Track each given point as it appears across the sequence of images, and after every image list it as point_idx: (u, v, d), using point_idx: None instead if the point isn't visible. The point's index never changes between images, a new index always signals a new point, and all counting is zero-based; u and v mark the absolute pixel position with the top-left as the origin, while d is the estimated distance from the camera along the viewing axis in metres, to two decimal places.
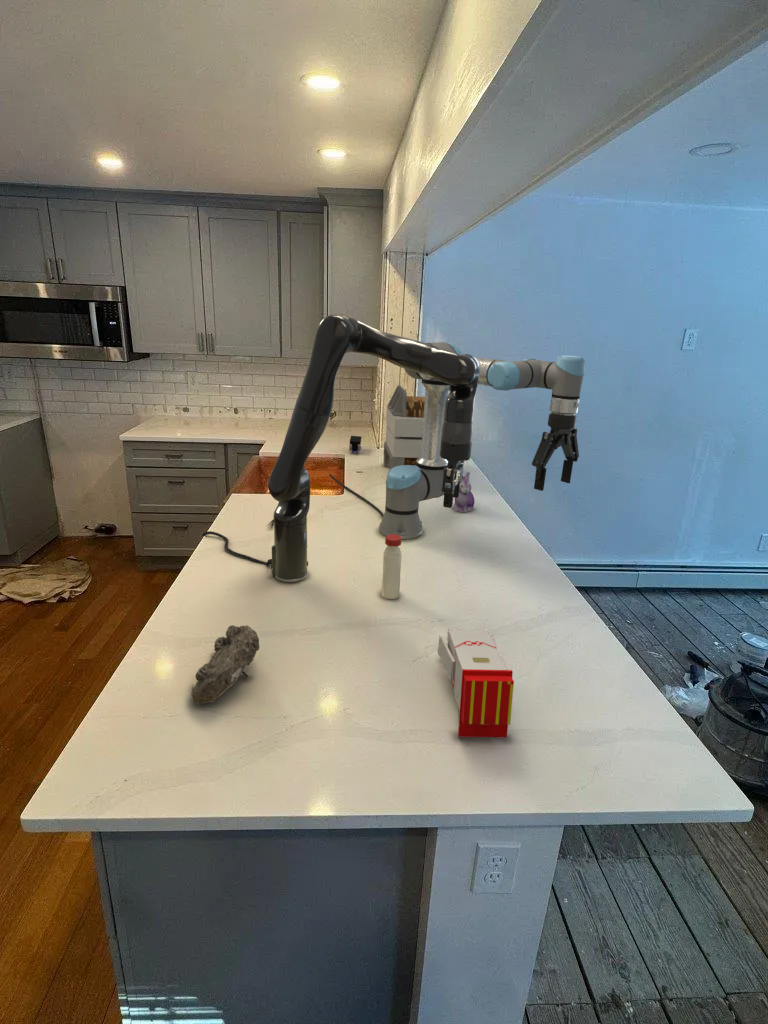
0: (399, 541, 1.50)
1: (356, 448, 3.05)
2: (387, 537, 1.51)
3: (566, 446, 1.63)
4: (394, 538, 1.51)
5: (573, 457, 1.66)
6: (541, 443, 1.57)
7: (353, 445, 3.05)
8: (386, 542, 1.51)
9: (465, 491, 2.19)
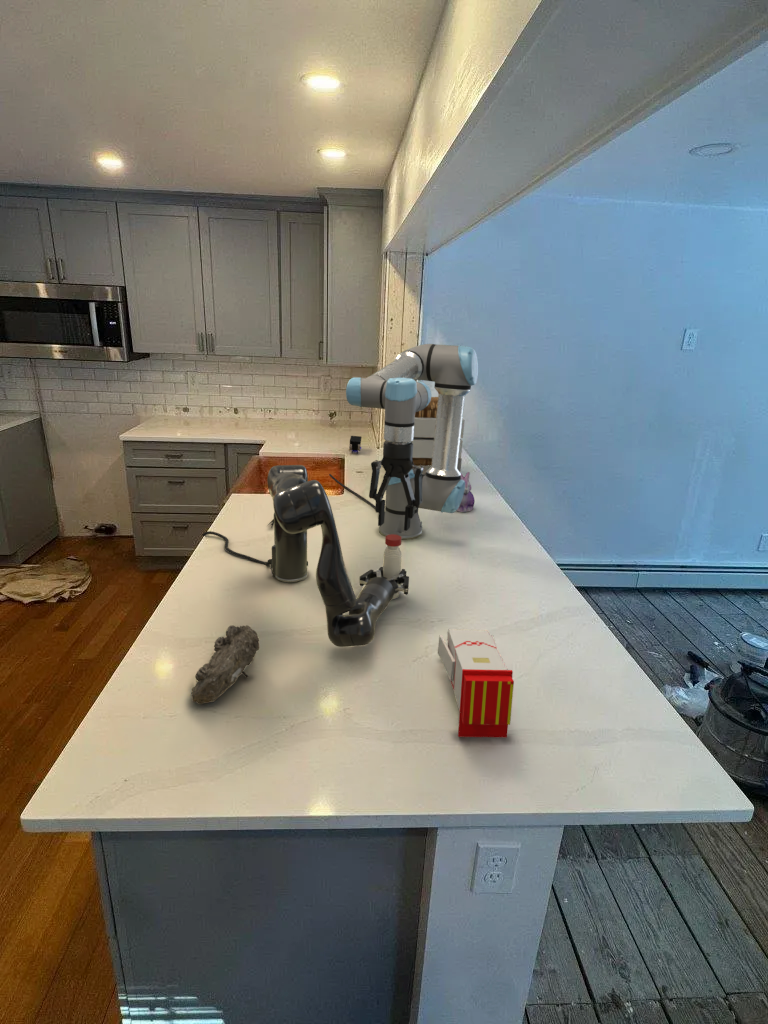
0: (399, 541, 1.50)
1: (356, 448, 3.05)
2: (387, 537, 1.51)
3: (390, 478, 1.47)
4: (394, 538, 1.51)
5: None
6: (419, 481, 1.43)
7: (353, 445, 3.05)
8: (386, 542, 1.51)
9: (465, 491, 2.19)
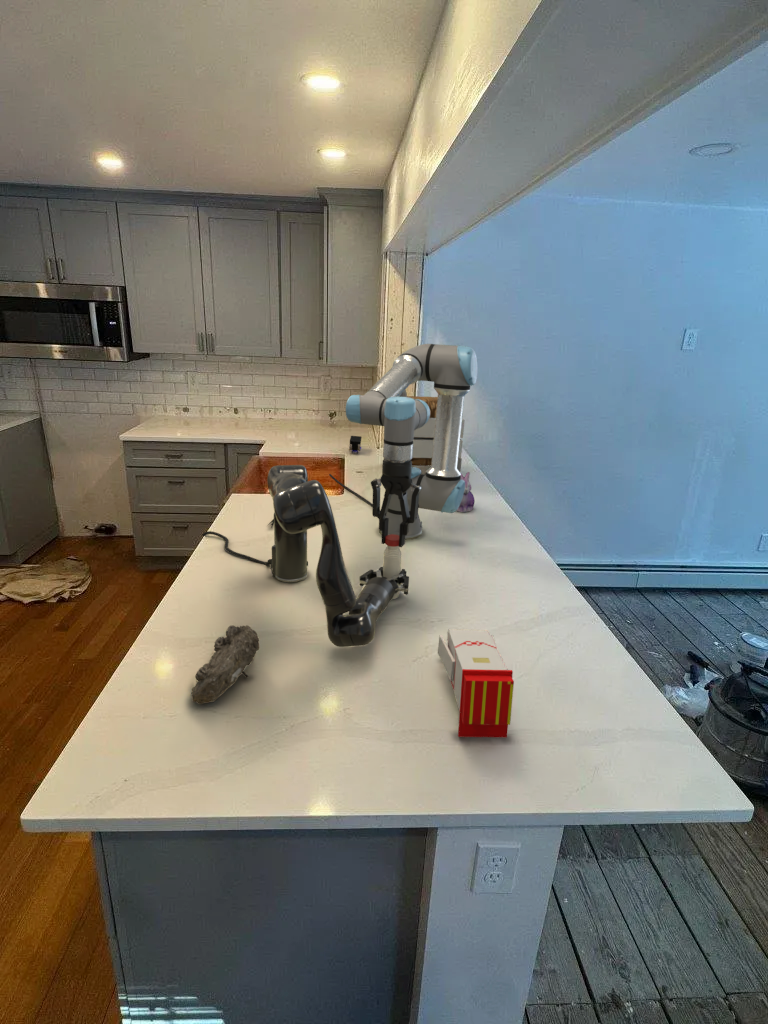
0: None
1: (356, 448, 3.05)
2: (387, 537, 1.51)
3: (390, 496, 1.49)
4: (394, 538, 1.51)
5: None
6: (416, 499, 1.45)
7: (353, 445, 3.05)
8: (386, 542, 1.51)
9: (465, 491, 2.19)
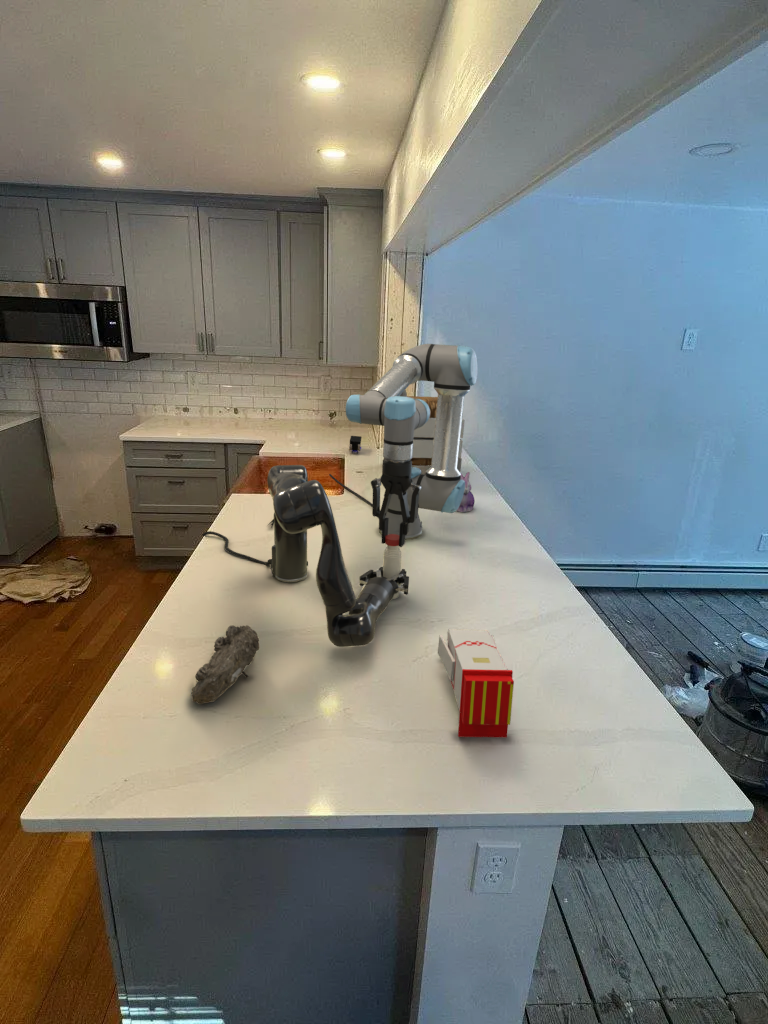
0: None
1: (356, 448, 3.05)
2: (395, 539, 1.50)
3: (390, 496, 1.49)
4: (395, 536, 1.52)
5: None
6: (416, 499, 1.45)
7: (353, 445, 3.05)
8: (398, 543, 1.50)
9: (465, 491, 2.19)
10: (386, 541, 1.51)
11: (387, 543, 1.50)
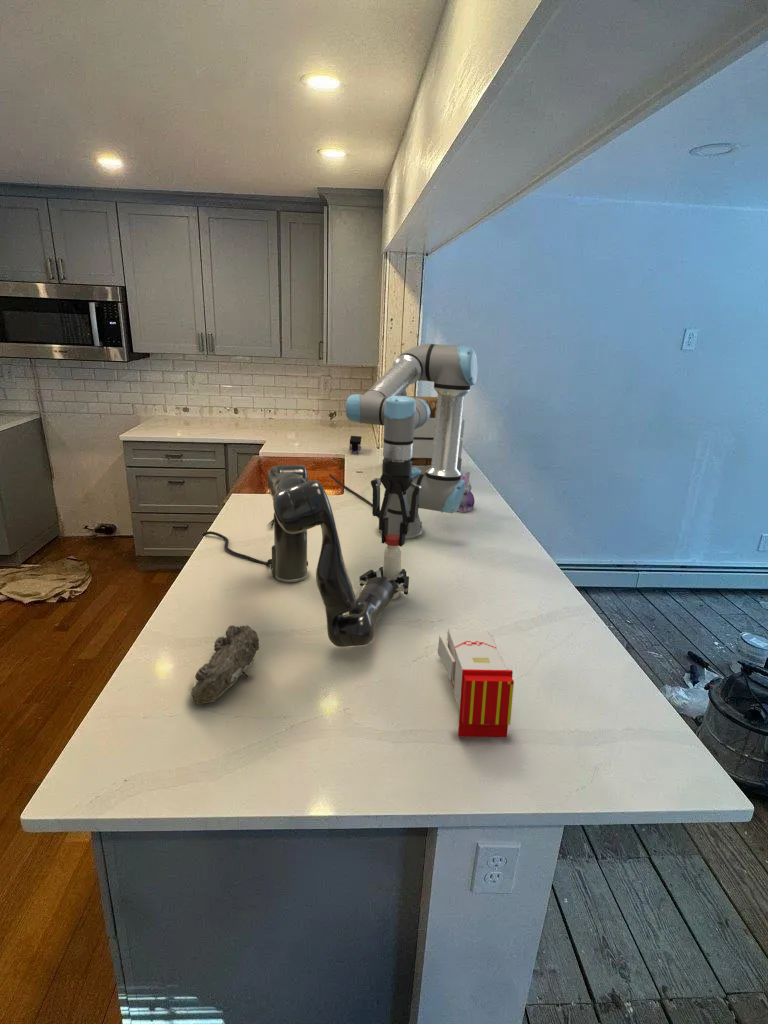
0: None
1: (356, 448, 3.05)
2: (398, 535, 1.52)
3: (390, 495, 1.49)
4: (391, 535, 1.52)
5: None
6: (416, 499, 1.45)
7: (353, 445, 3.05)
8: None
9: (465, 491, 2.19)
10: (398, 542, 1.50)
11: None
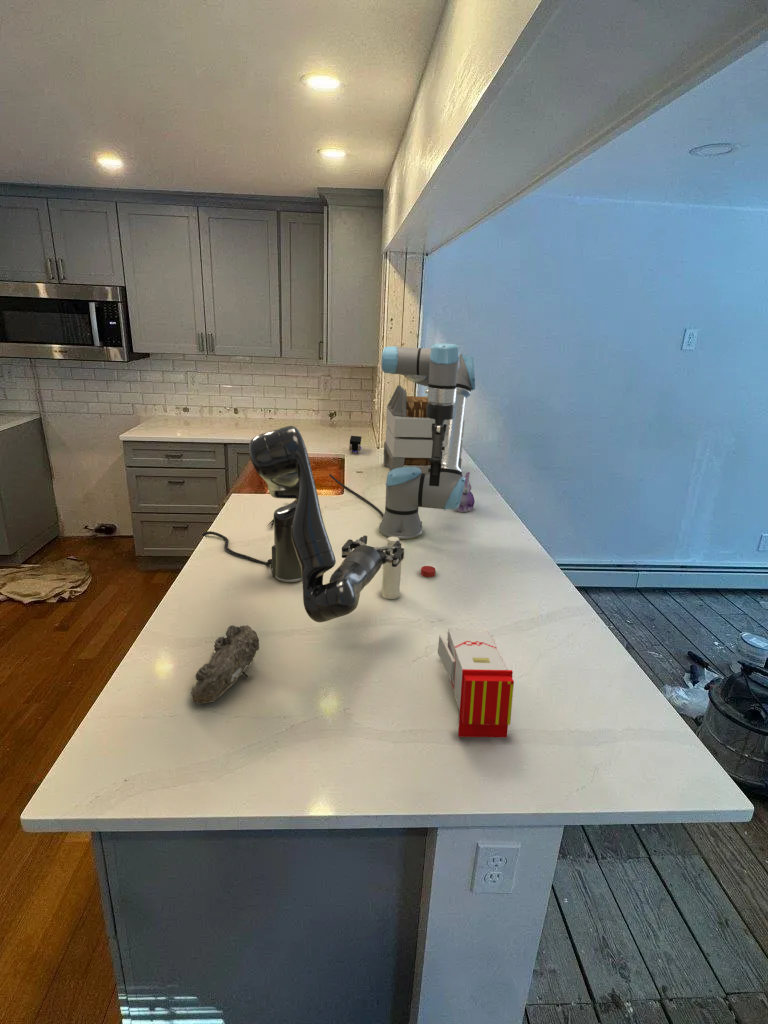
0: None
1: (356, 448, 3.05)
2: (425, 570, 1.69)
3: None
4: (430, 569, 1.70)
5: None
6: None
7: (353, 445, 3.05)
8: (427, 575, 1.68)
9: (465, 491, 2.19)
10: None
11: None
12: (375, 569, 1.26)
